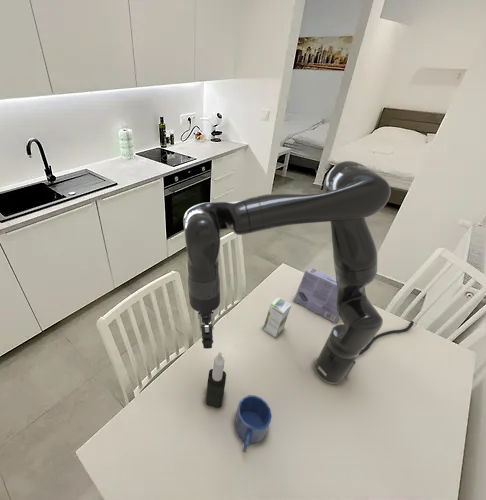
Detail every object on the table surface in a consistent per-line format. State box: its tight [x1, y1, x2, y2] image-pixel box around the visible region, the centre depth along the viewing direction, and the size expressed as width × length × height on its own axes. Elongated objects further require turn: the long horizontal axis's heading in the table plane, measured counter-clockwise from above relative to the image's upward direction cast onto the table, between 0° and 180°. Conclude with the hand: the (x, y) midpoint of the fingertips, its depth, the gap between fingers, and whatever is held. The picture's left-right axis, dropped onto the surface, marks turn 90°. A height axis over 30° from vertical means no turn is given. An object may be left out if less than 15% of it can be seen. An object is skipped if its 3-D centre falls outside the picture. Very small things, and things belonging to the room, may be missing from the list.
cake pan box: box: [293, 265, 340, 324], centre depth 115 cm, size 19×5×18 cm, turn 49°
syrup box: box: [263, 297, 292, 338], centre depth 107 cm, size 6×6×14 cm
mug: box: [234, 394, 273, 454], centre depth 80 cm, size 12×9×10 cm
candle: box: [205, 352, 227, 409], centre depth 82 cm, size 5×5×25 cm
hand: (206, 334), depth 76 cm, fingers open, 8 cm apart
